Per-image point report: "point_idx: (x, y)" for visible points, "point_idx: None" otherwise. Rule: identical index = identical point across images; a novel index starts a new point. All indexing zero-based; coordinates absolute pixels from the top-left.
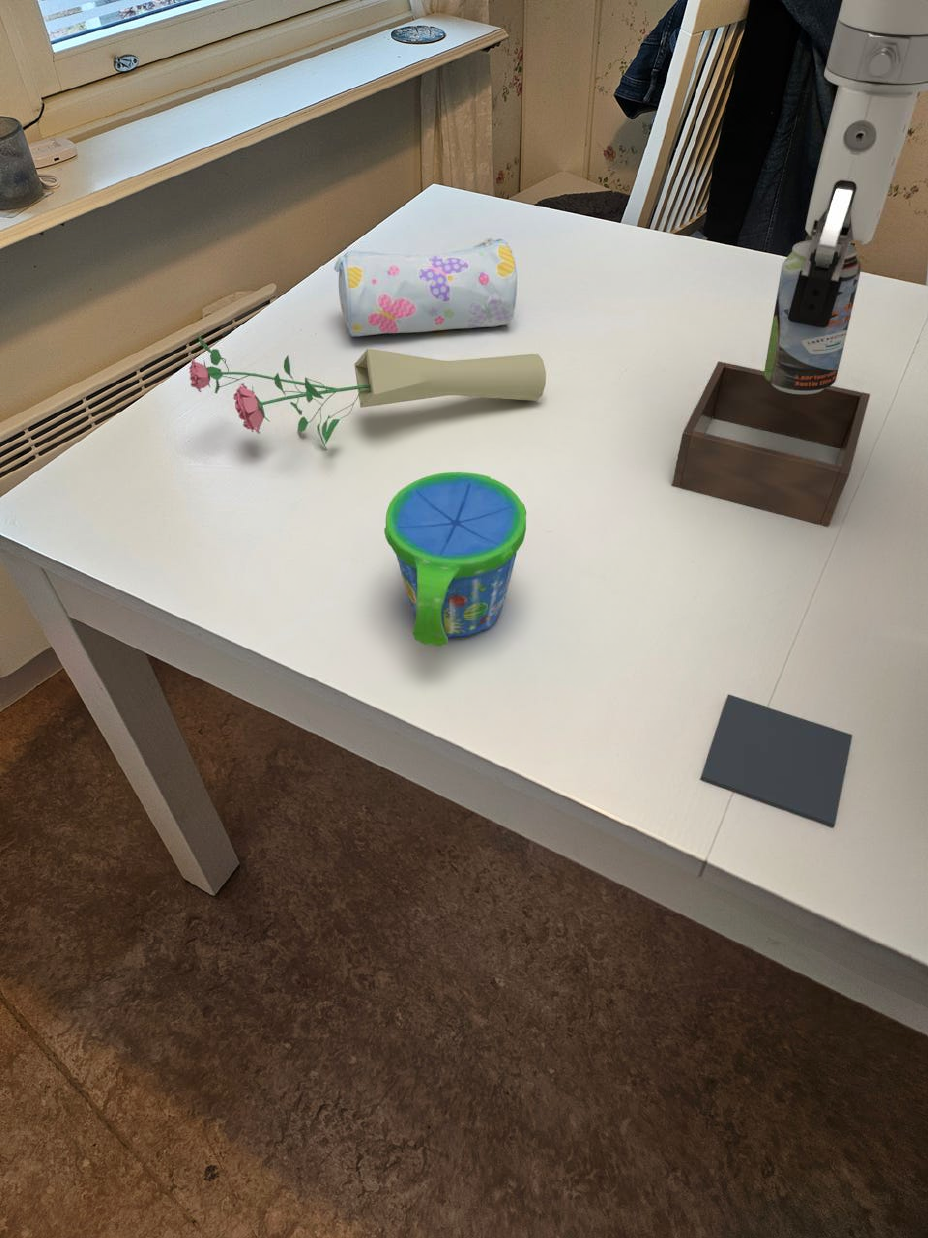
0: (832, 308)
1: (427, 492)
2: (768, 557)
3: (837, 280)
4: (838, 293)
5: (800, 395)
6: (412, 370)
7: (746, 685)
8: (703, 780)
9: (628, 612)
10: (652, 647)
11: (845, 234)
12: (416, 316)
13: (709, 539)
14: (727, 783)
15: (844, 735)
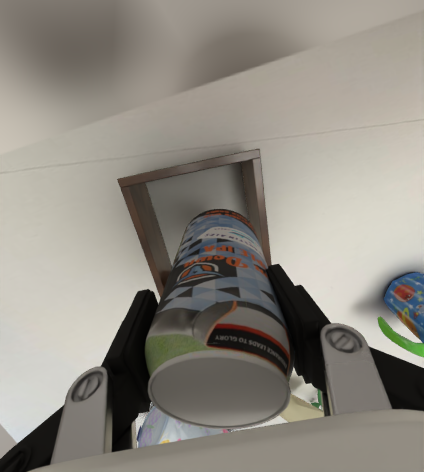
0: (289, 280)
1: None
2: (298, 175)
3: (352, 328)
4: (268, 294)
5: (148, 231)
6: (301, 416)
7: (418, 137)
8: None
9: (379, 223)
10: (403, 199)
11: (115, 397)
12: (215, 432)
13: (298, 214)
14: None
15: None
